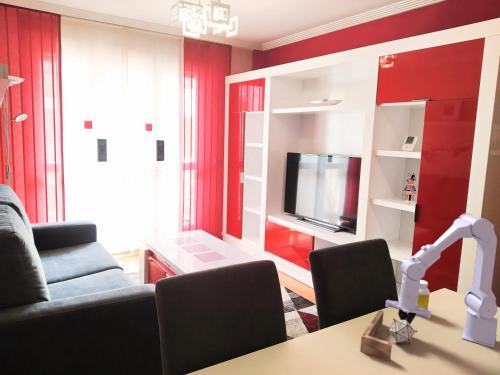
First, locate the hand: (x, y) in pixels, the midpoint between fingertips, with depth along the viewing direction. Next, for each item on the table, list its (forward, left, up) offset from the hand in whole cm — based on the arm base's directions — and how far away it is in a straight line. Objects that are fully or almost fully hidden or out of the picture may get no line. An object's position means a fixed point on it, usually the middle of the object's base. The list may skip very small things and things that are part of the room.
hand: (405, 331), depth 131 cm
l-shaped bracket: (+5, +8, -1) cm, 10 cm away
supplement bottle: (-1, -22, -2) cm, 23 cm away
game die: (0, +6, -2) cm, 6 cm away
